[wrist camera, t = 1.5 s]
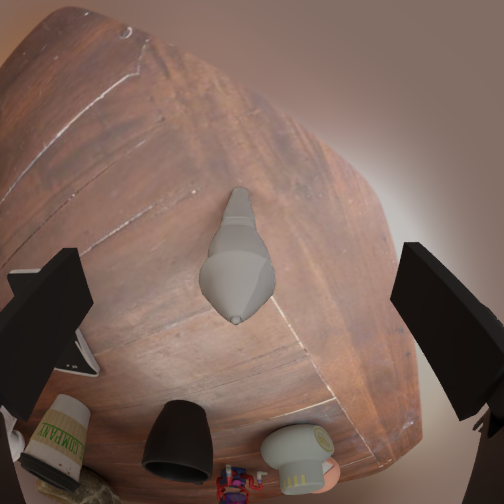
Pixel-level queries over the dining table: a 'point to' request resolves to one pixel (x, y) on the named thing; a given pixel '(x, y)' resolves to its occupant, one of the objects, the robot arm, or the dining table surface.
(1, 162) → the dining table surface
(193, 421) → the mug
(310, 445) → the air freshener
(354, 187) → the dining table surface
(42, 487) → the bowl
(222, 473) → the figurine
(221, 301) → the grey tapered rod
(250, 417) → the dining table surface
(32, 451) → the coffee cup
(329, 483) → the toy ball
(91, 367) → the smartphone
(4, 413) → the housing
